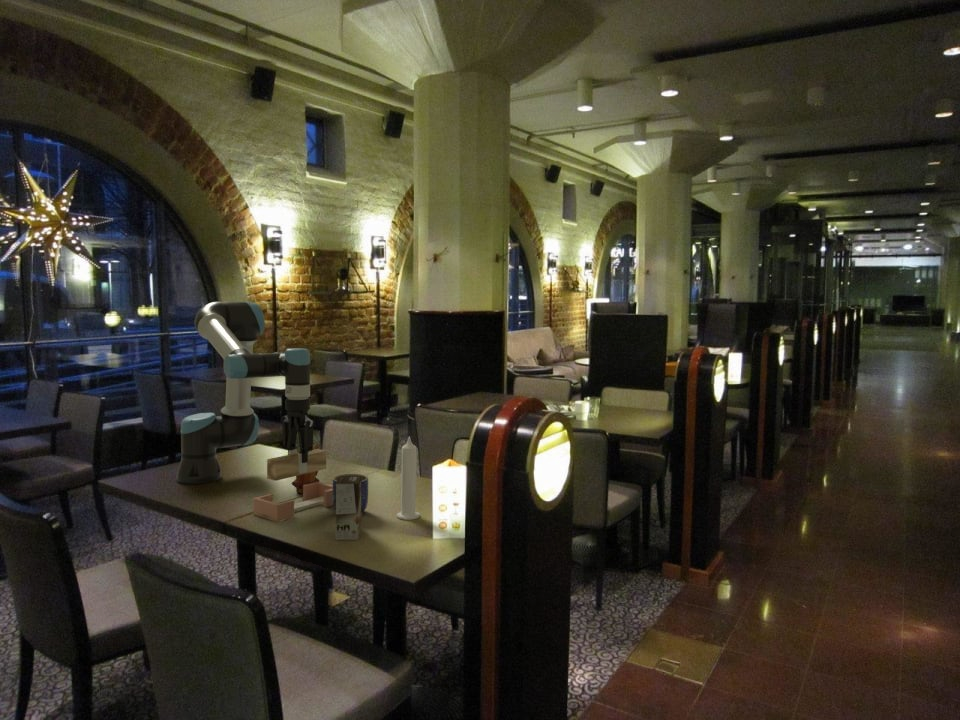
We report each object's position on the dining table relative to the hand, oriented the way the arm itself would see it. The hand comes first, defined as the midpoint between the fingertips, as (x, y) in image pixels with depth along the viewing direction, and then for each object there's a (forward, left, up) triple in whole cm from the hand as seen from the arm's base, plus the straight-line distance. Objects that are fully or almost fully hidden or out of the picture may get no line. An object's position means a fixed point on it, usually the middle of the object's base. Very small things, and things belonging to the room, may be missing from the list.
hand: (297, 471), depth 219 cm
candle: (+32, +16, -12) cm, 38 cm away
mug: (-14, +16, -12) cm, 25 cm away
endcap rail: (0, 0, -12) cm, 12 cm away
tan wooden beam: (0, 0, -1) cm, 1 cm away
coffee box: (+30, -7, -12) cm, 33 cm away
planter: (+16, +7, -12) cm, 21 cm away
